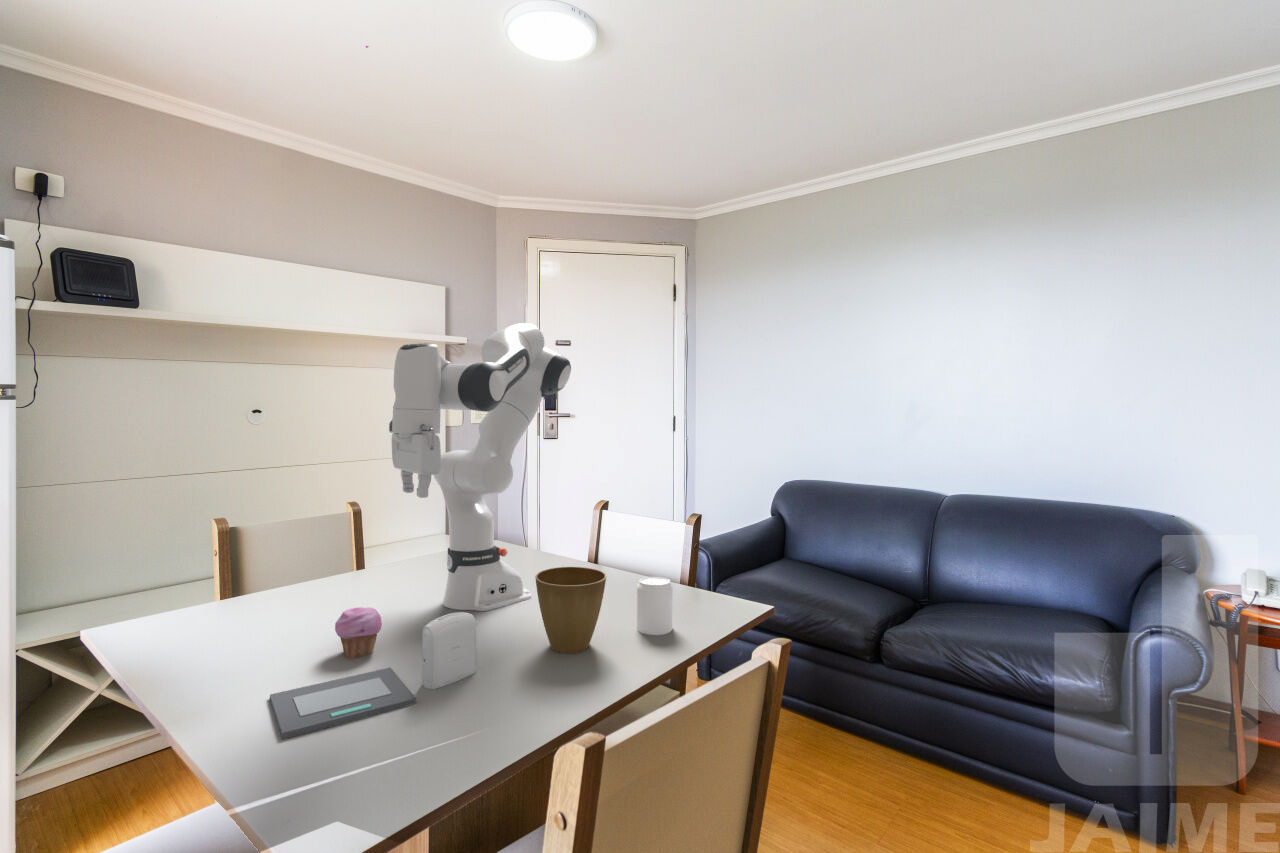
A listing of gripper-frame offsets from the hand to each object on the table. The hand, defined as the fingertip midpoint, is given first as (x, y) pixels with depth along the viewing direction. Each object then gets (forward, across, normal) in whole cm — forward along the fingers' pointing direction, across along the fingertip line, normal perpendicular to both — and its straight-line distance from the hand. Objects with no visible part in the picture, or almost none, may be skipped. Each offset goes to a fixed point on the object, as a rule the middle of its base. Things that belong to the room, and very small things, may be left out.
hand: (415, 494), depth 122 cm
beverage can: (+33, -12, -51) cm, 62 cm away
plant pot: (+33, -10, -30) cm, 46 cm away
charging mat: (+34, -9, +14) cm, 38 cm away
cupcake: (+34, +11, +7) cm, 37 cm away
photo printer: (+34, -11, -4) cm, 36 cm away
